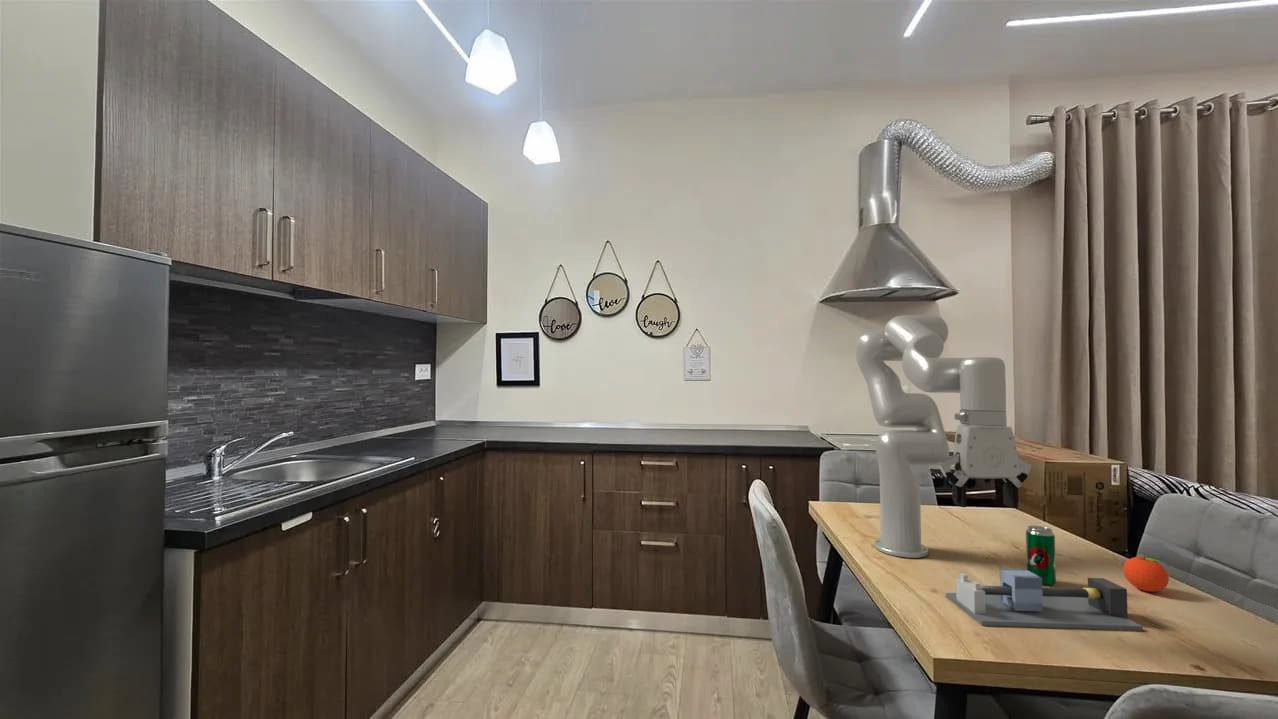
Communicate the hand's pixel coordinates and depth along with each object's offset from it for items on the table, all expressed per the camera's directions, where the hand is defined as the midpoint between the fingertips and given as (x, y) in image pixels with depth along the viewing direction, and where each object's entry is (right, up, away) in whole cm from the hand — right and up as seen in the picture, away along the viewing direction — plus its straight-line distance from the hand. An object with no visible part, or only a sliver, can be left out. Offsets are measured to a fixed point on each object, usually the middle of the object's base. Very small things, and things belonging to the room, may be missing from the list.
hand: (985, 505), depth 97 cm
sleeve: (+6, -19, -1) cm, 20 cm away
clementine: (+42, -21, +9) cm, 47 cm away
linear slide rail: (+10, -21, -1) cm, 23 cm away
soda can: (+22, -21, +13) cm, 33 cm away
